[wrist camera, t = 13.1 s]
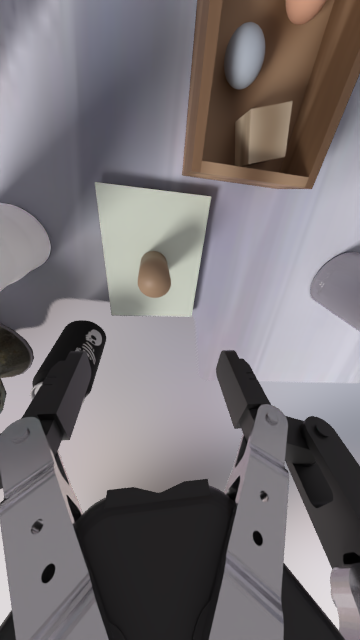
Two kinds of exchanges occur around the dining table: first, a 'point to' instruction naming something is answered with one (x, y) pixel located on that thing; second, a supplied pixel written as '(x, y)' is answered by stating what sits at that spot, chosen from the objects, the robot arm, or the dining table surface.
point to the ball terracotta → (303, 10)
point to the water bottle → (20, 244)
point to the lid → (151, 248)
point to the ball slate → (244, 55)
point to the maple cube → (262, 134)
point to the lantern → (12, 357)
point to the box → (271, 88)
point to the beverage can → (74, 339)
